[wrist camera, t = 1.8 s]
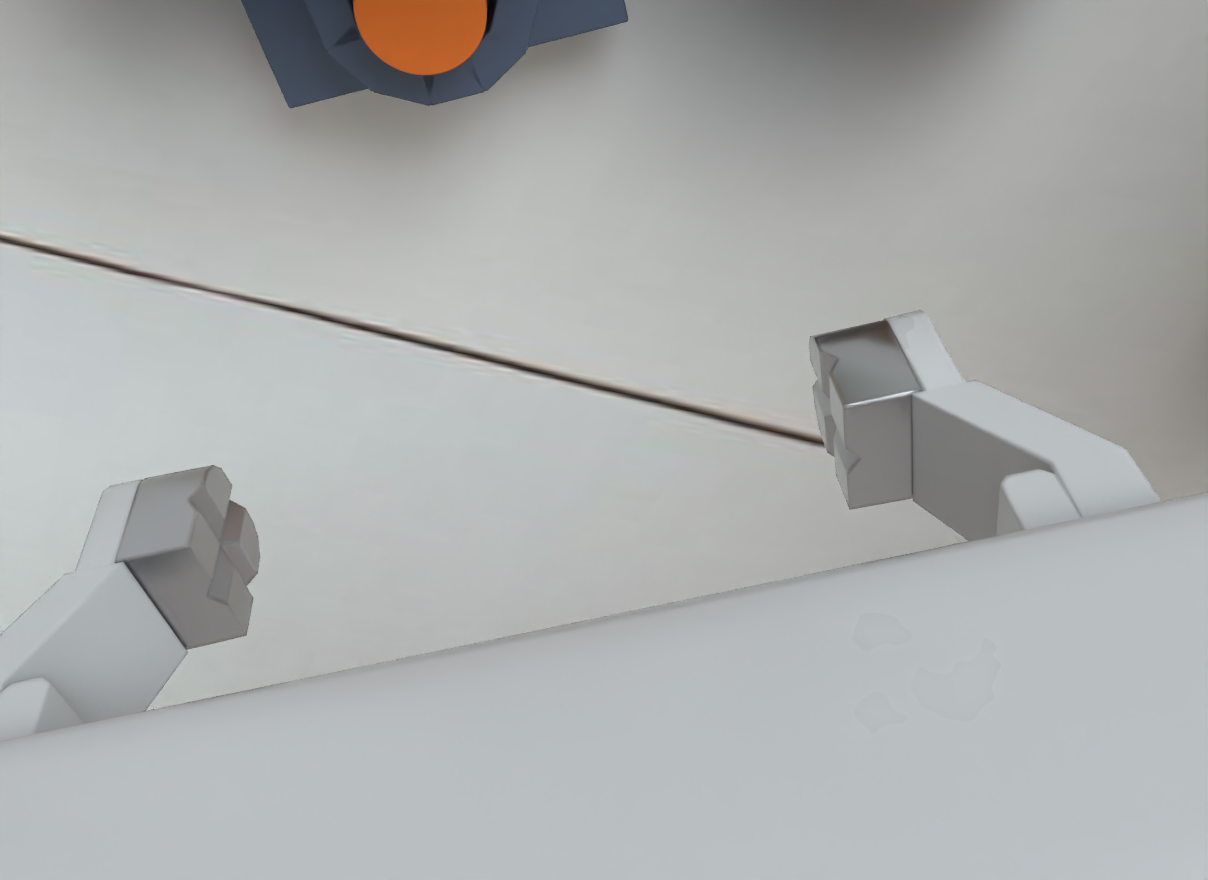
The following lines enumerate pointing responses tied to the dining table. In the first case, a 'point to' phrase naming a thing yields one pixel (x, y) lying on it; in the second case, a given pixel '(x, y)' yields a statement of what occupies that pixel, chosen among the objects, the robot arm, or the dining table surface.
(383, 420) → the dining table surface
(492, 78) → the panel
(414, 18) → the release button
